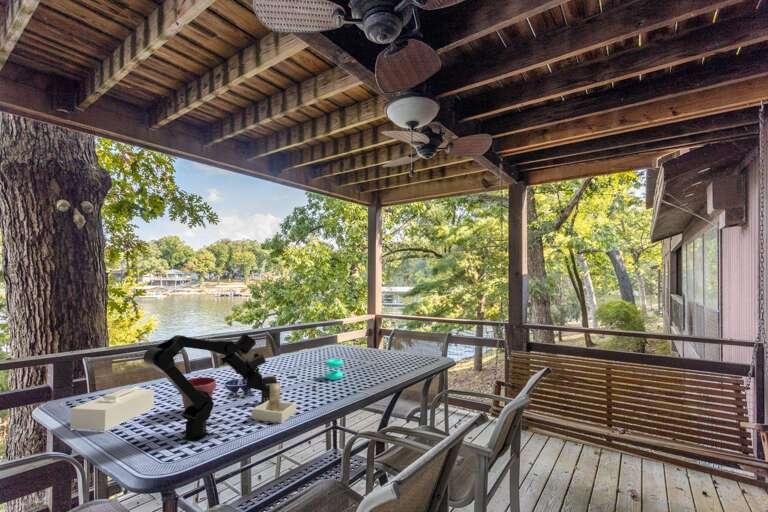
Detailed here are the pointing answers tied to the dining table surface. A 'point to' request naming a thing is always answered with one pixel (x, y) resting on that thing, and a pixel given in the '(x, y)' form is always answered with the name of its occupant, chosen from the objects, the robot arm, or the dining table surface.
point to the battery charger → (268, 380)
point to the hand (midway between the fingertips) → (266, 388)
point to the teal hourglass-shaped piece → (334, 374)
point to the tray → (274, 412)
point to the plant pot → (201, 386)
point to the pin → (274, 397)
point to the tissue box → (112, 409)
